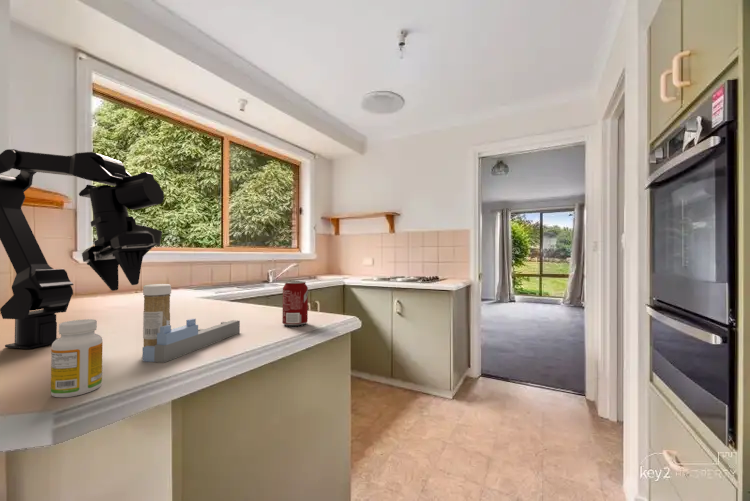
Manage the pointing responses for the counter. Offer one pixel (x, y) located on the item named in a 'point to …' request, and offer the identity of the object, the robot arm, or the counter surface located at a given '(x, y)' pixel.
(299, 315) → the soda can
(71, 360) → the supplement bottle
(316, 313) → the counter surface
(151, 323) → the sprinkles bottle
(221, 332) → the grey long notched block
